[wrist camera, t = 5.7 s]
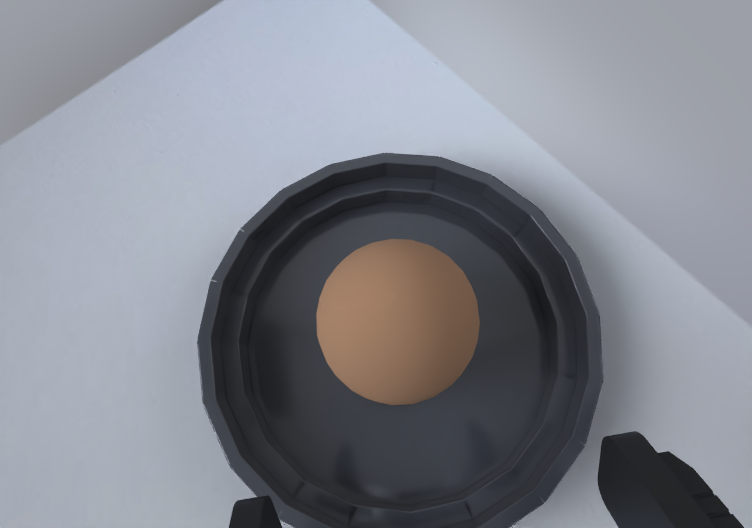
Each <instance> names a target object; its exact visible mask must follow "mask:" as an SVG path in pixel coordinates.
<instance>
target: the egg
mask: <svg viewBox="0 0 752 528" xmlns="http://www.w3.org/2000/svg"><path fill="white" fill-rule="evenodd" d="M316 317H317V337H318V340H319V344H320V346H321V349H322V351H323V354H324V357H325V359H326V362H327V364H328V365H329V367H330V368H331V369H332V371H333V372H334V374H335V375H336V376H337V377H338V378H339V379H340V380H341V381H342V382H343V383H344V384H345V385H346V386H347V387H348V388H349V389H350V390H352V391H353V392H355V393H357V394H359V395H361V396H362V397H364V398H366V399H369V400H372V401H375V402H379V403H384V404H388V405H406V404H415V403H418V402H421V401H424V400H427V399H430V398H433V397H435V396H436V395H438V394H439V393H441V392H442V391H444V390H445V389H447V388H448V387H449V386H451V385H452V384H453V383H454V382H455V381H456V380H457V379H458V378H459V377H460V376H461V374H462V373H463V371H464V370H465V368H466V367H467V365H468V363H469V362H470V360H471V359H472V357H473V354H474V351H475V348H476V345H477V341H478V335H479V325H480V320H479V312H478V304H477V299H476V296H475V294H474V291H473V288H472V286H471V284H470V282H469V281H468V279H467V277H466V275H465V274H464V272H463V270H462V269H461V268H460V267H459V266H458V265H457V264H456V263H455V262H454V261H453V260H452V259H451V258H450V257H449V256H447V255H446V254H444V253H442V252H441V251H439V250H438V249H436V248H434V247H433V246H430V245H427V244H424V243H421V242H417V241H414V240H407V239H388V240H383V241H377V242H372V243H370V244H368V245H366V246H363V247H361V248H359V249H357V250H355V251H354V252H352V253H351V254H350V255H348V256H347V257H346V258H345V259H344V260H343V261H342V262H340V264H339V265H338V266H337V267H336V268H335V269H334V271H333V272H332V273H331V275H330V276H329V277H328V279H327V280H326V283H325V285H324V288H323V290H322V293H321V295H320V298H319V303H318V308H317V314H316Z"/></svg>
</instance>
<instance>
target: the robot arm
mask: <svg viewBox="0 0 752 528" xmlns="http://www.w3.org/2000/svg"><path fill="white" fill-rule="evenodd" d="M598 486H599V490H600V494H601V496H602V499H603V501H604V503H605V505H606V507H607V509H608V511H609V512H610V514H611V516H612V517H613V519H614V521H615V522H616V524H617V526H618V527H619V528H744V527H743V526H742V525H741V523H740V522H739V521H738V520H737V519H736V518H735V516H734V515H733V514H732V515H731V514H730V513H729V511H728V510H729V509H728V508H727V507H726V506H725V505H724V504H723V502H722V501H721V500H720V499H719V498H718V497H717V496H716V495H714V494H713V492H712V490H711V489H710V487H709V486H708V485H707V484H706V483H705V482H704V480H703V479H702V478H701V477H700V476H699V475H698V473H697V472H696V471H695V470H694V469H693V468H692V467H690V466H689V465H687V464H686V463H685V462H683V461H682V460H680V459H679V458H677V457H676V456H674V455H673V454H672V453H670V452H669V451H668V452H662V453H657V452H656V451H655V450H654V448H653V447H652V446H651V445H650V443H649V442H648V441H647V440H646V438H645V437H644V436H643V435H642V434H640V433H639V432H636V431H634V432H628V433H623V434H617V435H612V436H606V437H604V438H603V440H602V445H601V453H600V462H599V471H598ZM229 528H282V526H281V523H280V521H279V518H278V515H277V513H276V510H275V507H274V505H273V502H272V499H271V497H270V496H269V495H267V496H261V497H255V498H250V499H244V500H239V501H237V502H236V503H235V505H234V507H233V511H232V516H231V520H230V525H229Z"/></svg>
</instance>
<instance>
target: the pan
mask: <svg viewBox="0 0 752 528" xmlns="http://www.w3.org/2000/svg"><path fill="white" fill-rule="evenodd" d="M388 239H407V240H414V241H417V242H421V243H424V244H427V245H430V246H433V247H434V248H436V249H438V250H439V251H441V252H442V253H444V254H446V255H447V256H449V257H450V258H451V259H452V260H453V261H454V262H455V263H456V264H457V265H458V266H459V267H460V268H461V269H462V270H463V272H464V274H465V275H466V277H467V279H468V281H469V282H470V284H471V286H472V288H473V291H474V294H475V296H476V299H477V304H478V312H479V320H480V325H479V335H478V341H477V345H476V348H475V351H474V354H473V357H472V359H471V360H470V362H469V363H468V365H467V367H466V368H465V370H464V371H463V373H462V374H461V376H460V377H459V378H458V379H457V380H456V381H455V382H454V383H453V384H452V385H451V386H449V387H448V388H447V389H445V390H444V391H442V392H441V393H439V394H438V395H436V396H435V397H433V398H430V399H427V400H424V401H421V402H418V403H415V404H406V405H388V404H384V403H379V402H375V401H372V400H369V399H366V398H364V397H362V396H361V395H359V394H357V393H355V392H353V391H352V390H350V389H349V388H348V387H347V386H346V385H345V384H344V383H343V382H342V381H341V380H340V379H339V378H338V377H337V376H336V375H335V374H334V372H333V371H332V369H331V368H330V367H329V365H328V364H327V362H326V359H325V357H324V354H323V351H322V349H321V346H320V344H319V340H318V337H317V317H316V314H317V308H318V303H319V298H320V295H321V293H322V290H323V288H324V285H325V283H326V280H327V279H328V277H329V276H330V275H331V273H332V272H333V271H334V269H335V268H336V267H337V266H338V265H339V264H340V262H342V261H343V260H344V259H345V258H346V257H347V256H348V255H350V254H351V253H352V252H354V251H355V250H357V249H359V248H361V247H363V246H366V245H368V244H370V243H372V242H377V241H383V240H388ZM211 280H212V281H211V282H210V286H209V290H208V295H207V299H206V304H205V308H204V312H203V317H202V321H201V326H200V330H199V335H198V341H197V344H198V356H199V367H200V379H201V390H202V402H203V404H204V408H205V411H206V413H207V415H208V418H209V420H210V422H211V424H212V427H213V429H214V431H215V434H216V436H217V438H218V441H219V443H220V445H221V448H222V450H223V452H224V455H225V457H226V459H227V461H228V464H229V465H230V467H231V469H232V470H233V471H234V472H235V473H236V474H237V475H238V476H239V477H240V478H241V479H242V481H243V482H244V483H245V484H246V485H247V486H248V487H249V488H250V489H251V490H252V491H253V493H254V494H255V495H256V496H257V497H261V496H267V495H269V496H270V497H271V499H272V502H273V505H274V507H275V510H276V513H277V515H278V518H279V519H280V520H282V521H283V522H285V523H287V524H289V525H291V526H293V527H295V528H509V527H510V526H512V525H513V524H515V523H516V522H518V521H519V520H521V519H522V518H524V517H525V516H526V515H528V514H529V513H531V512H532V511H534V510H535V509H537V508H538V507H540V506H541V505H543V504H544V502H546V501H547V499H548V498H549V496H550V495H551V494H552V492H553V491H554V489H555V488H556V487H557V485H558V484H559V482H560V481H561V479H562V478H563V477H564V475H565V474H566V472H567V471H568V469H569V468H570V467H571V465H572V464H573V462H574V461H575V460H576V458H577V457H578V455H579V454H580V452H581V451H582V450H583V448H584V447H585V445H584V444H586V441H587V438H588V434H589V430H590V427H591V423H592V419H593V416H594V412H595V409H596V405H597V401H598V398H599V394H600V390H601V387H602V383H603V380H602V379H603V363H602V346H601V329H600V316H599V311H598V309H597V306H596V304H595V301H594V298H593V296H592V293H591V291H590V288H589V286H588V283H587V280H586V278H585V275H584V273H583V270H582V267H581V265H580V262H579V260H578V257H576V254H575V253H574V251H573V250H572V249H571V248H570V246H569V245H568V244H567V243H566V241H565V240H564V239H563V237H562V236H561V235H560V234H559V232H558V231H557V230H556V229H555V227H554V226H553V225H552V224H551V222H550V221H549V220H548V218H547V217H546V216H545V215H544V213H543V212H542V211H541V210H539V208H538V207H536V206H535V205H534V204H532V203H531V202H529V201H528V200H527V199H525V198H524V197H522V196H521V195H520V194H518V193H517V192H515V191H514V190H512V189H511V188H510V187H508V186H507V185H505V184H504V183H503V182H501V181H500V180H498V179H497V178H496V177H494V176H492V175H490V174H488V173H485V172H482V171H479V170H476V169H474V168H471V167H468V166H465V165H462V164H459V163H457V162H454V161H451V160H448V159H445V158H442V157H438V156H423V155H408V154H393V153H385V154H384V153H381V154H377V155H372V156H367V157H362V158H358V159H353V160H348V161H343V162H339V163H334V164H331V165H328V166H326V167H324V168H322V169H320V170H318V171H316V172H314V173H313V174H311V175H309V176H307V177H305V178H303V179H301V180H299V181H297V182H295V183H293V184H292V185H290V186H288V187H286V188H284V189H282V191H279V192H278V193H277V194H276V195H275V196H274V197H273V198H272V199H271V200H270V201H269V202H268V203H267V204H266V205H265V206H264V207H263V208H262V209H261V210H260V211H259V212H258V213H256V214H255V215H254V216H253V217H252V218H251V219H250V220H249V221H248V222H247V223H246V224H245V225H244V226H243V227H242V228H241V230H239V232H238V234H237V235H236V237H235V239H234V241H233V242H232V244H231V246H230V248H229V249H228V251H227V253H226V255H225V256H224V258H223V260H222V262H221V263H220V265H219V267H218V269H217V270H216V272H215V274H214V276H213V277H212V279H211Z"/></svg>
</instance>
